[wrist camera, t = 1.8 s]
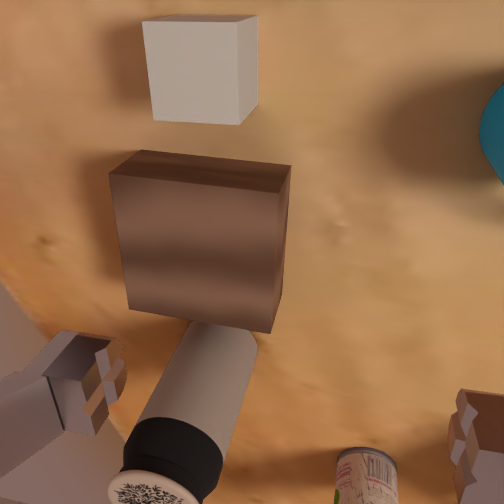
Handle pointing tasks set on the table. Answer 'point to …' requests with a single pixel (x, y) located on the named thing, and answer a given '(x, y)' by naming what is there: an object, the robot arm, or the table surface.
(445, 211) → the table surface
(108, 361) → the robot arm
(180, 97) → the light gray cube
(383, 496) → the aerosol can
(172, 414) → the travel mug
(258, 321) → the walnut block
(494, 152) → the mug
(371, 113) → the table surface
